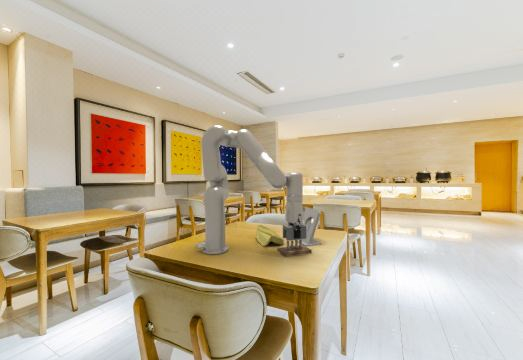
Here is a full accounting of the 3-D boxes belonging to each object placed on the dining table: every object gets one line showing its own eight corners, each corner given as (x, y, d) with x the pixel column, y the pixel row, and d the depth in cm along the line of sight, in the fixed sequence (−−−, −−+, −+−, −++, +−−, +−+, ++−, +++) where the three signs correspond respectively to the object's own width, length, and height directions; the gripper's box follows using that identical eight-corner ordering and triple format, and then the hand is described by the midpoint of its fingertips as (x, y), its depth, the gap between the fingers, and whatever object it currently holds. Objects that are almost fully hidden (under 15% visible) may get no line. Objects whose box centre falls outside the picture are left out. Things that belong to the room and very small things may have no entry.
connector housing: (287, 240, 107) (287, 227, 107) (282, 237, 112) (282, 225, 112) (306, 238, 111) (306, 225, 111) (301, 235, 115) (301, 223, 115)
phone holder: (289, 237, 136) (289, 206, 135) (304, 236, 140) (304, 206, 139) (305, 246, 120) (306, 211, 119) (322, 244, 124) (322, 210, 123)
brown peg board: (284, 256, 106) (284, 244, 105) (277, 251, 113) (277, 239, 113) (311, 253, 110) (311, 241, 110) (303, 247, 118) (303, 237, 118)
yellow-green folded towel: (285, 240, 123) (270, 234, 119) (279, 253, 122) (264, 247, 119) (271, 229, 141) (257, 223, 137) (265, 240, 141) (251, 234, 137)
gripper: (279, 197, 118) (279, 233, 118) (295, 201, 101) (295, 242, 102) (293, 196, 120) (293, 231, 121) (311, 200, 104) (310, 240, 105)
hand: (294, 236), depth 111 cm, fingers closed on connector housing, 5 cm apart
